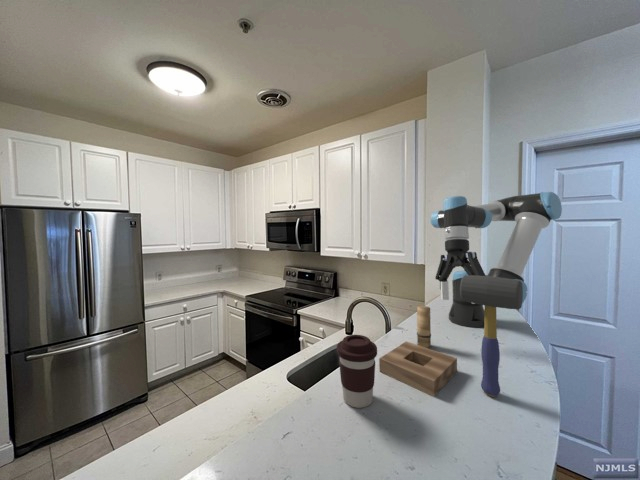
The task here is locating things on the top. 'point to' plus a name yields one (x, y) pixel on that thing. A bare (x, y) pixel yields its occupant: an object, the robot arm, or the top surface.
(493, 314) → the rubber mallet
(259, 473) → the top surface
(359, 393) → the coffee cup
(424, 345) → the oak peg
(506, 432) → the top surface
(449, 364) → the walnut socket block
